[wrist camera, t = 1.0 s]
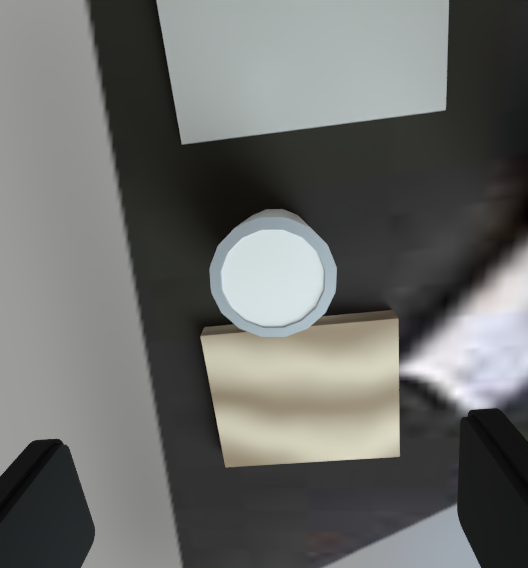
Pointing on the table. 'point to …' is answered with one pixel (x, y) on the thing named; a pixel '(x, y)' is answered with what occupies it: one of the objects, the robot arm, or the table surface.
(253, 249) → the shot glass
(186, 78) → the grey tile
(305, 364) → the birch board
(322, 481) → the table surface
